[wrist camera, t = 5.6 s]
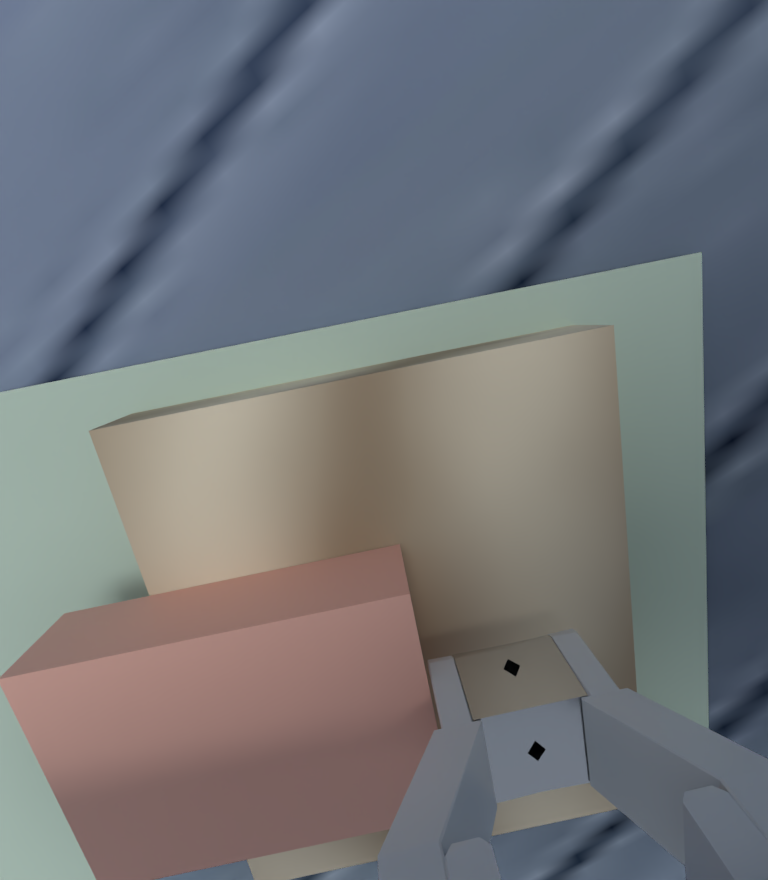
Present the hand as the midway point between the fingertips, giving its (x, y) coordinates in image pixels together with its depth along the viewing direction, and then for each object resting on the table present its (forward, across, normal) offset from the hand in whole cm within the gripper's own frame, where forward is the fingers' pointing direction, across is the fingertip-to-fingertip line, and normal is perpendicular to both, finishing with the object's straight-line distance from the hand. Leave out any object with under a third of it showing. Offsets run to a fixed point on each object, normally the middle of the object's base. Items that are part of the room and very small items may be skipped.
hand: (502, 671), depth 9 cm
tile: (+1, +5, 0) cm, 5 cm away
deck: (+3, +2, 0) cm, 3 cm away
